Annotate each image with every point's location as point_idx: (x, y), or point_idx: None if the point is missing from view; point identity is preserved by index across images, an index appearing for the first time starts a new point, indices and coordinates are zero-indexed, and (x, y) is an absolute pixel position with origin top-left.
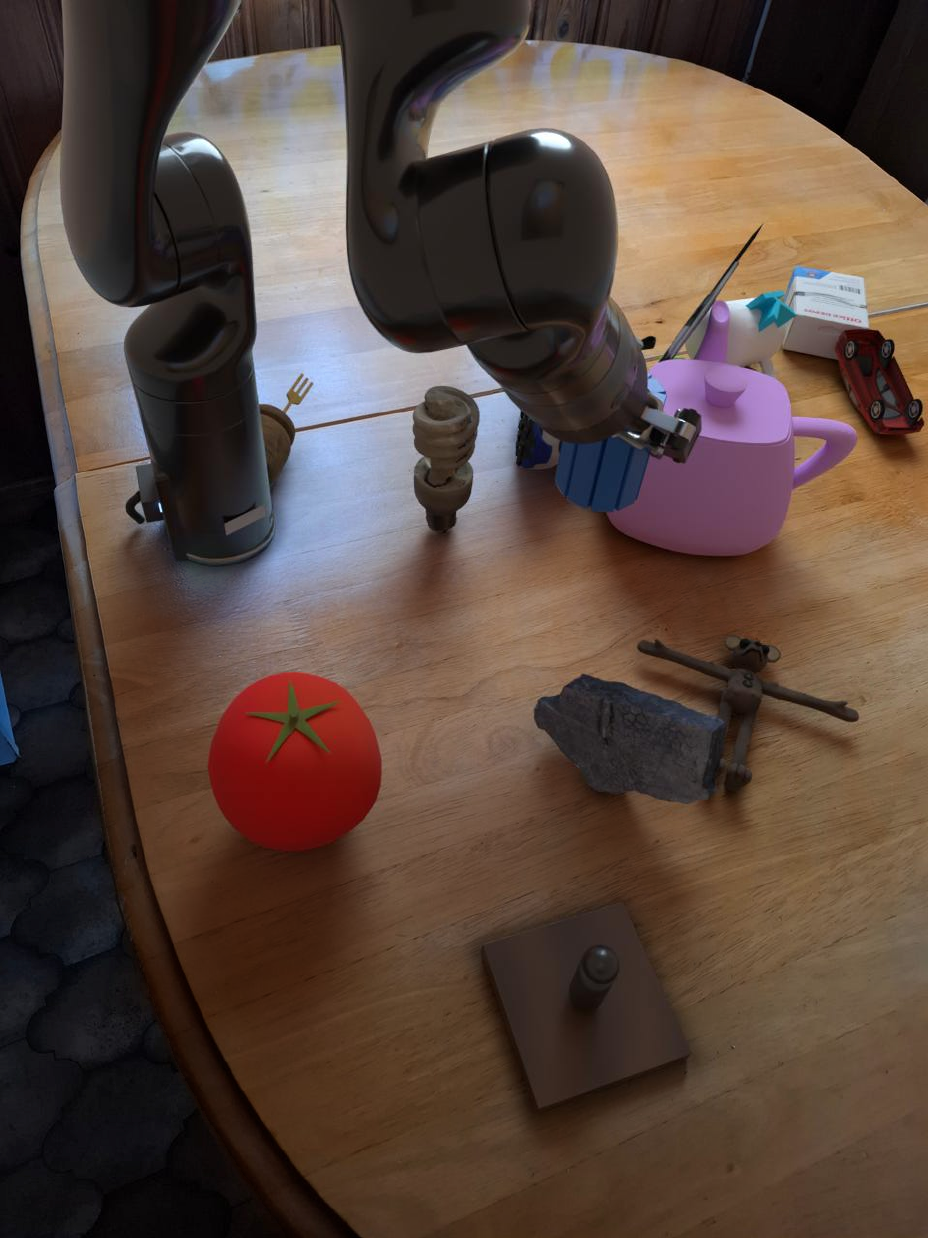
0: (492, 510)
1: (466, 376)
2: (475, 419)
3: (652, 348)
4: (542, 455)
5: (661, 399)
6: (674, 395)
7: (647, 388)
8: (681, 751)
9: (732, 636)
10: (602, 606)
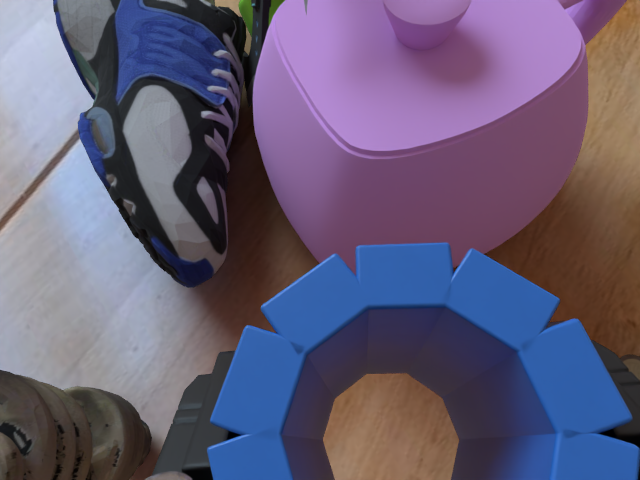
0: (183, 353)
1: (19, 146)
2: (35, 428)
3: None
4: (200, 276)
5: (585, 365)
6: (349, 72)
7: (493, 337)
8: None
9: (622, 361)
10: (423, 418)
